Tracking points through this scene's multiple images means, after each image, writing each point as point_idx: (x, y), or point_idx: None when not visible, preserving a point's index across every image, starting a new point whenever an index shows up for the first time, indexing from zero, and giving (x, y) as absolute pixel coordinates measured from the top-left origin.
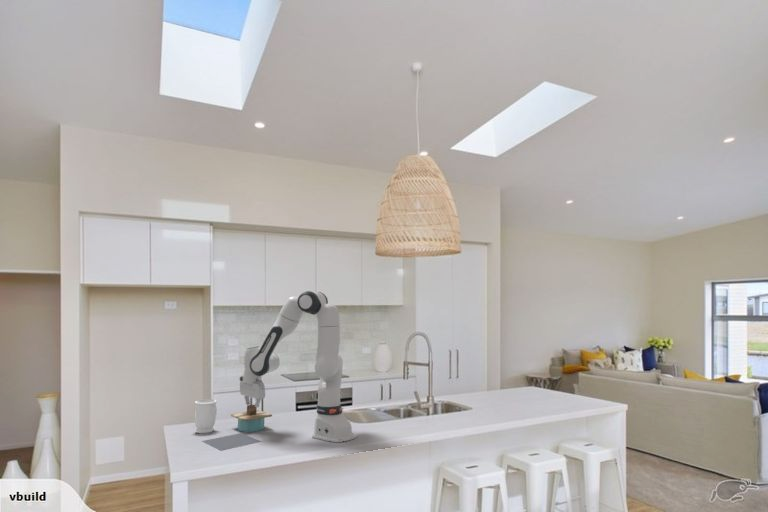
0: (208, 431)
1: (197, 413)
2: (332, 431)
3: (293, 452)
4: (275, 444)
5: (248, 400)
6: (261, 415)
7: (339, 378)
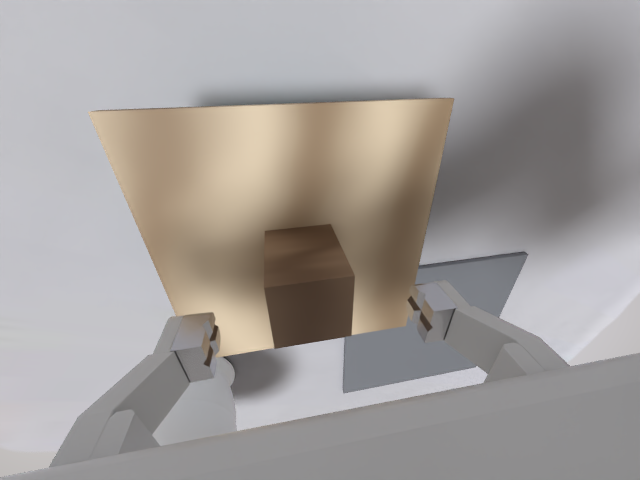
0: (232, 372)
1: None
2: None
3: None
4: (589, 219)
5: (176, 365)
6: (395, 201)
7: None
